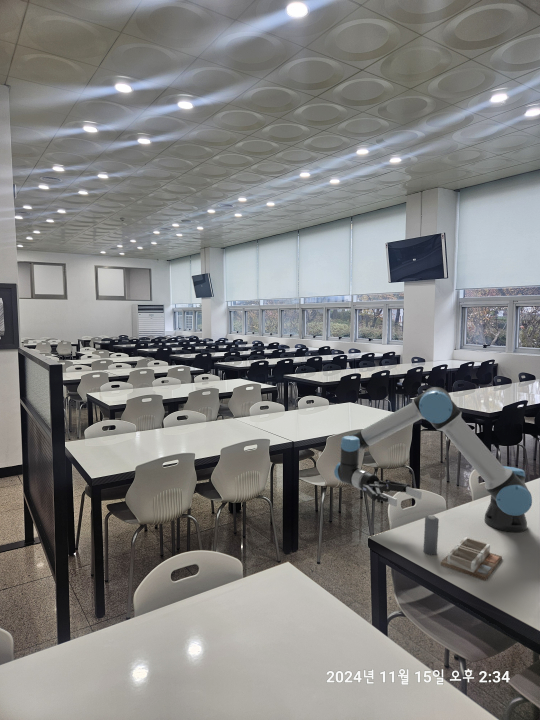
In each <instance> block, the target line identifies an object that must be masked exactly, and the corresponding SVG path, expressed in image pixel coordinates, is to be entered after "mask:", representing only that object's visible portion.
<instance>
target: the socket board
mask: <svg viewBox="0 0 540 720" xmlns="http://www.w3.org/2000/svg"><path fill="white" fill-rule="evenodd" d="M490 549H491V544H490V543H487V542H484V541H480V540H477V539H473V538H470V537H467V536H465V537H463V539H462V540H461V541H460V542H459V543H457V545H456V546H454V548H453V549H452V550H450V552H449V553H447V555H446V557H443V559H442V560H441V561H440V565H441V566H443V567H446V568H450V569H452V570H455V571H458V572H460V573H463V574H465V575H469V576H472V577H475V578H477V579H479V580H483V581H487V580H488V578H489V577H490V576H491V574H492V573H493V572H494V571H495V570H496V568H497V566H498V565H499V564H500V563H501V561H502V560H503V556H502V555H500V554H496V553H493V552H491V551H490Z"/></svg>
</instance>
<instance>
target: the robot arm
mask: <svg viewBox="0 0 540 720" xmlns="http://www.w3.org/2000/svg"><path fill="white" fill-rule="evenodd" d="M462 414H463V413H462V410H461V409H460V408H459V407H458V405H457V404H455V402H454V401H453V400H452V397H451V395H450V393H449V392H448V391H447V390H446V389H445V388H442V387H438V386H434V387H433V386H432V387H430V388H428V389H426V390H425V391H424V392H422V393H421V394H419V395H418V396H416V397H414V398H412V399H411V402H410V403H409V404H407V405H405V406H403V407H402V408H400V409H398V410H396V411H394V412H392V413H390V414H389V415H387V416H385V417H384V418H383V417H382V418H381V419H379V420H378V421H376V422H374V423H373V424H370V425H369V426H367V427H365V428H364V429H362V430H360V431H358V432H355V433H352V434H350V435H345V436H342V437H341V442H340V461H339V462H338V463H337V464H336V465H335V468H334V470H333V473H334V477H335V478H336V479H337V480H339V481H340V482H343V483H345V484H347V485H348V486H349V485H350V486H352V487H354V488H357V489H358V490H360V491H362V492H363V493H365V494H366V495H367V496H368V498H370V499H371V500H372V501H375V502H377V503H381V501H382V502H384V503H385V504H389V505H391V506H393V507H395V508H396V507H397V504H398V498H396V497H394V496H392V495H389V494H386V493H383V492H396V493H397V492H400V493H405V494H406V495H408V496H410V497H413V498H416V499H418V500H422V493H423V492H422V491H420V490H418V489H415V488H413V487H411V484H410V483H404V482H399V481H394V480H389V479H385V481H384V480H380V479H379V476H377V475H376V474H374V473H372V472H369V471H366V470H364V469H360V468H359V461H360V459H359V458H360V453H361V452H362V451H363V450H365V449H367V448H369V447H371V446H372V445H374V444H376V443H378V442H380V441H381V440H383V439H386V438H388V437H389V436H392V435H393V434H395V433H397V432H398V431H401V430H402V429H404V428H406V427H408V426H410V425H412V424H414V423H416V422H418V421H419V420H426V421H427V422H429V423H430V424H431V425H432V427H433V428H435V430H436V431H440V432H443V433H444V435H445V436H446V437H447V438H448V439H449V440H450V442H451V443H452V444H453V445H454V446H455V448H456V449H457V450H458V452H460V453H461V454H462V456H463V457H464V458H465V460H466V461H467V462H468V463H469V464H470V466H471V467H472V468H473V469H474V470H475V471H476V473H477V474H478V475H479V476H480V477H481V478H482V480H483V481H484V482H485V483H484V488H485V490H486V491H487V492H488V493H489V495H490V502H489V504H488V507H487V509H486V512H485V513H484V523H485V524H486V525H488V526H489V527H491V528H494V529H496V530H499V531H505V532H509V533H520V532H524V531H527V528H528V527H527V526H528V521H527V517H526V513H528V511H529V510H530V509H531V507H532V504H533V497H532V496H533V495H532V494H531V492H530V491H529V489H528V487H527V485H526V483H525V481H526V472H525V470H524V469H522V468H518V467H512V466H506V465H503V464H502V463H500V460H498V459H497V458H496V456H494V454H493V452H491V451H490V450H489V447H487V446H486V445H485V444H484V443H483V441H482V440H481V439H480V438H479V437H478V436H477V434H476V433H475V432H474V430H472V428H471V427H470V425H468V424H467V423H466V421H465V420H464V419H463V418H462Z"/></svg>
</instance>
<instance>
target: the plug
mask: <svg viewBox="0 0 540 720" xmlns="http://www.w3.org/2000/svg"><path fill="white" fill-rule="evenodd" d="M439 523H440V522H439V518H438V517H436V516H435V515H433V514H429V515H427V516H425V517H424V534H423V535H424V536H423V553H424V554H426V555H428V556H437V555H438V537H439Z"/></svg>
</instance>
